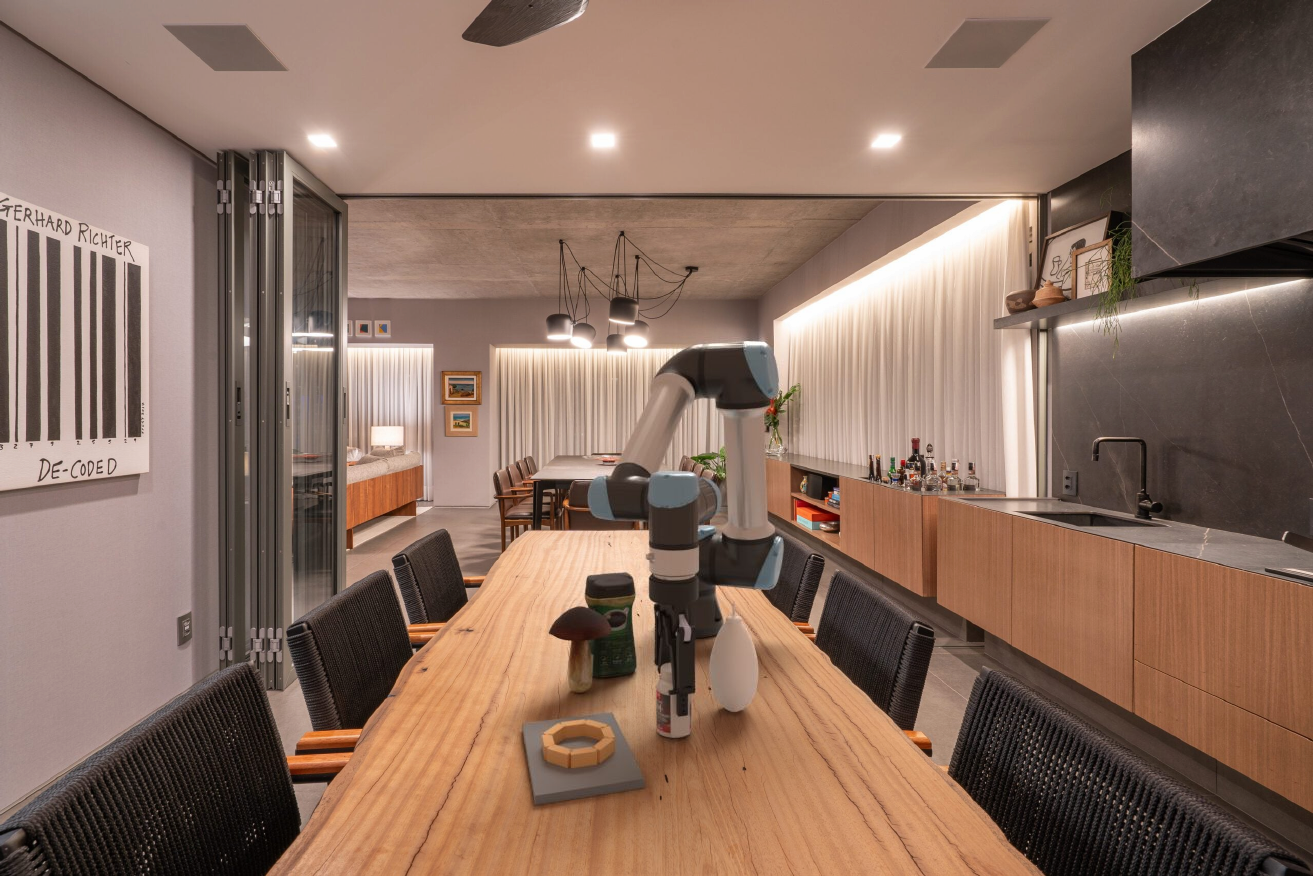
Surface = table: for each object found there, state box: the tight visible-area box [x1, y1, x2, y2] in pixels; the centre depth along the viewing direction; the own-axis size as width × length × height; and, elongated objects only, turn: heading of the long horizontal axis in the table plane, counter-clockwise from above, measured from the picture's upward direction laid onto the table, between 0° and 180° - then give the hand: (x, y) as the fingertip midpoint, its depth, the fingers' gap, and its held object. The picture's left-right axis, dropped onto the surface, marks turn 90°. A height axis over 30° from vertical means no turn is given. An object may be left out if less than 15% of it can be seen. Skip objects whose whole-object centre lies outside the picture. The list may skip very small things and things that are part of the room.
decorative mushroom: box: [548, 605, 612, 694], centre depth 113 cm, size 11×11×15 cm
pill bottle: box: [655, 663, 693, 739], centre depth 98 cm, size 5×5×10 cm
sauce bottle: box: [708, 601, 759, 713], centre depth 106 cm, size 8×8×18 cm
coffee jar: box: [584, 571, 638, 678], centre depth 123 cm, size 10×8×19 cm
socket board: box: [521, 711, 646, 806], centre depth 91 cm, size 14×20×3 cm
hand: (673, 725), depth 99 cm, fingers closed on pill bottle, 5 cm apart
